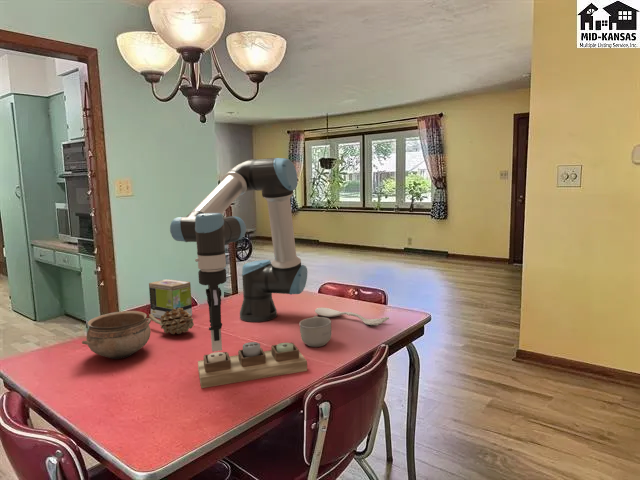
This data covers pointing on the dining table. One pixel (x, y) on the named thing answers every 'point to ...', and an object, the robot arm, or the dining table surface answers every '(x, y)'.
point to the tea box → (169, 296)
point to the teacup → (315, 331)
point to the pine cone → (175, 321)
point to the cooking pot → (118, 333)
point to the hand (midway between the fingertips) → (217, 350)
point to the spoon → (332, 313)
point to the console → (250, 366)
